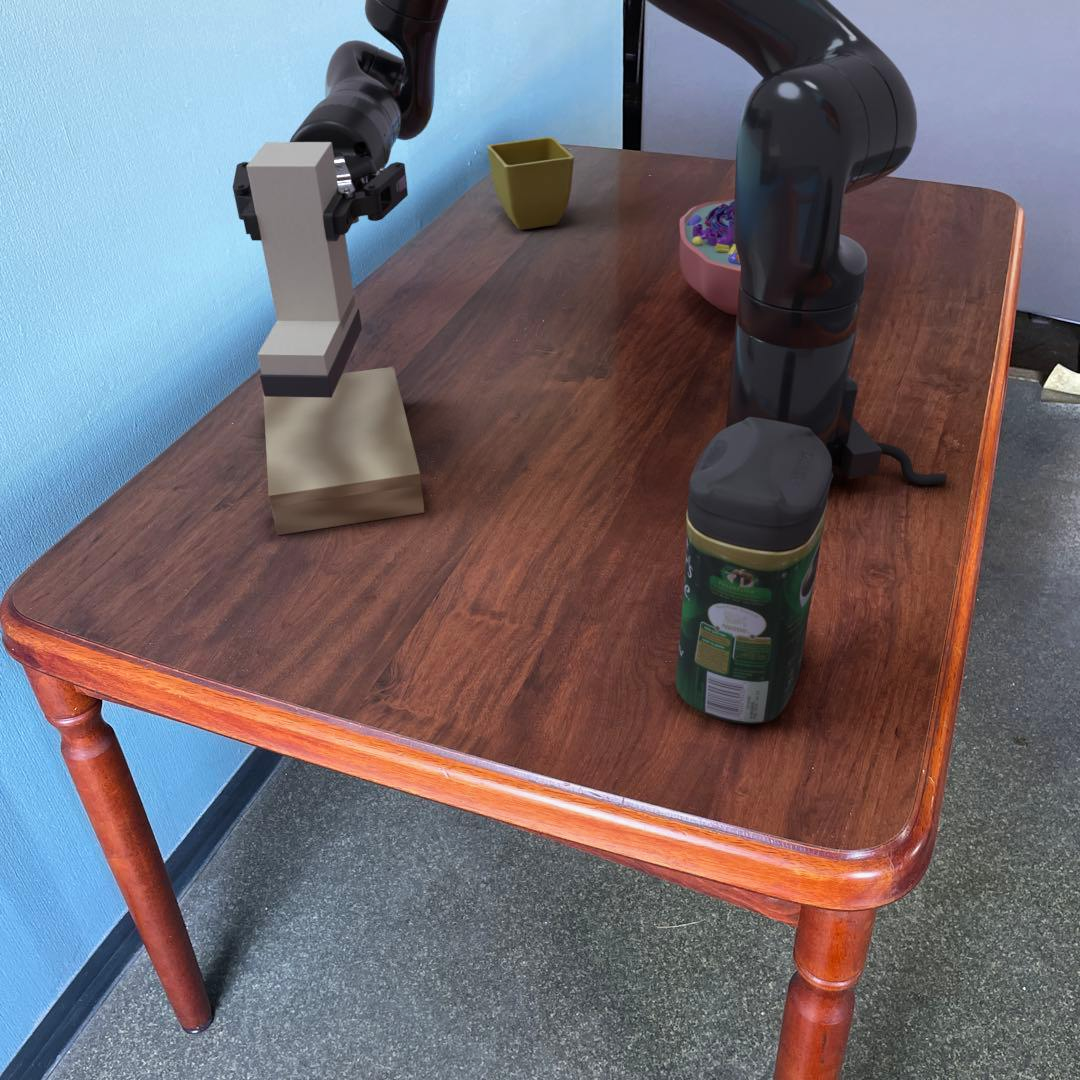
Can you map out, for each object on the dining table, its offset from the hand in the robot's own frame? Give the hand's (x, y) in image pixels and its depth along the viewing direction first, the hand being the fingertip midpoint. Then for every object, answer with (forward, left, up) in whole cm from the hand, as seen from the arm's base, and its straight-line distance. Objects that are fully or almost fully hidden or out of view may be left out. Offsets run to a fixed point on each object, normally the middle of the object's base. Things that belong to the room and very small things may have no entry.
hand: (291, 228), depth 78 cm
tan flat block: (-1, -3, -23) cm, 23 cm away
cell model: (-47, -23, -23) cm, 57 cm away
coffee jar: (-25, +30, -23) cm, 45 cm away
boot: (0, 0, -11) cm, 11 cm away
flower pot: (-29, -52, -23) cm, 64 cm away
